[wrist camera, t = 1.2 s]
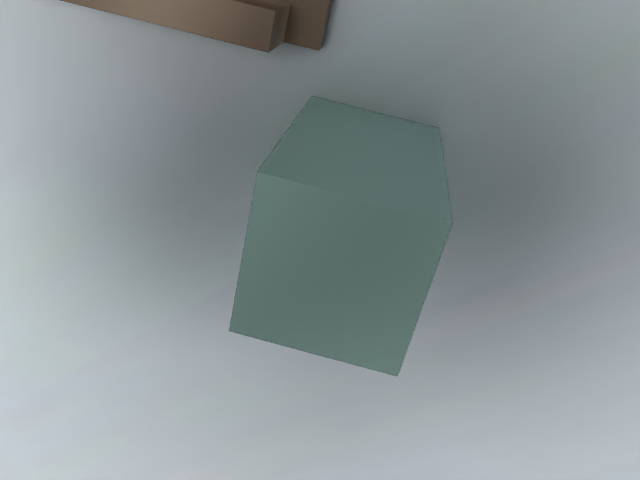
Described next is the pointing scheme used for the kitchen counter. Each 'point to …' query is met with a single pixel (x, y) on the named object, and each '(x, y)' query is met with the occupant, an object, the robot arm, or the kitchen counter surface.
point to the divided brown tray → (231, 19)
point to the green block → (344, 236)
